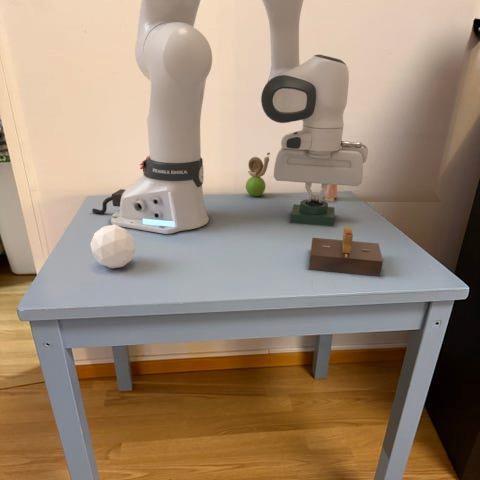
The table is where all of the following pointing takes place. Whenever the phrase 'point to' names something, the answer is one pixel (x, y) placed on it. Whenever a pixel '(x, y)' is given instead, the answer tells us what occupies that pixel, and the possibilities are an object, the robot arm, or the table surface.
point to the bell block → (313, 214)
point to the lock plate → (345, 257)
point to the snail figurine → (256, 176)
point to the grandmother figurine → (331, 193)
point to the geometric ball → (113, 246)
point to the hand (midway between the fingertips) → (314, 201)
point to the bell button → (314, 203)
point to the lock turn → (347, 240)
